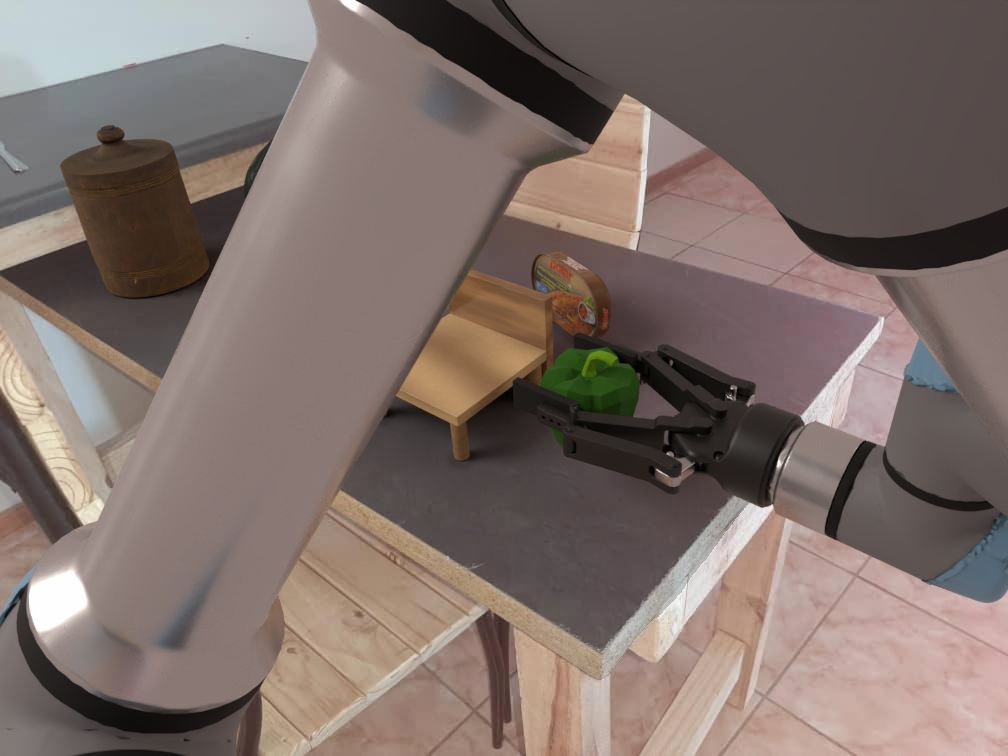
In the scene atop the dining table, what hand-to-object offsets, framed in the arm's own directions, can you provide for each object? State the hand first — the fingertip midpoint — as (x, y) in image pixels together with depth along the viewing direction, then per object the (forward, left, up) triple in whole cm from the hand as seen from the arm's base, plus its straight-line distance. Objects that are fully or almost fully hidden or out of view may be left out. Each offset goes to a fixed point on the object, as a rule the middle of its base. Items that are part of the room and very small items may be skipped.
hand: (547, 367), depth 71 cm
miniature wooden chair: (+1, +13, -11) cm, 17 cm away
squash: (+23, +69, -11) cm, 74 cm away
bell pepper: (0, -5, -6) cm, 8 cm away
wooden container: (-1, +72, -11) cm, 73 cm away
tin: (+22, +13, -11) cm, 28 cm away
